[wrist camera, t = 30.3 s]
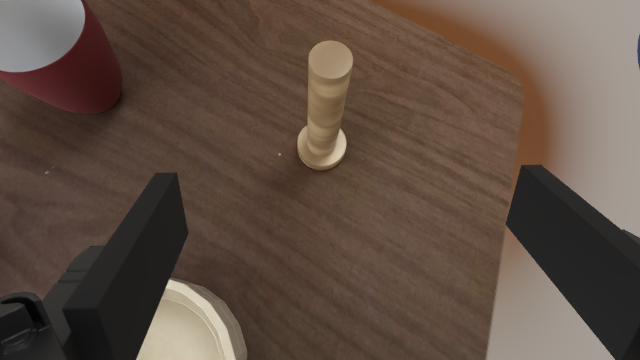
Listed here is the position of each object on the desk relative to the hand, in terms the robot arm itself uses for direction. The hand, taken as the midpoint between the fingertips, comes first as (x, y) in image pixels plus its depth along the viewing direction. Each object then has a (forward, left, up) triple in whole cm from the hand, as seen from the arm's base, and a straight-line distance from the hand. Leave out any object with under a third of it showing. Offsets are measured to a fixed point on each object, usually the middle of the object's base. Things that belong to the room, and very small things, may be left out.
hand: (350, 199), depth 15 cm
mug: (+21, -17, -19) cm, 33 cm away
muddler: (0, -10, -19) cm, 21 cm away
